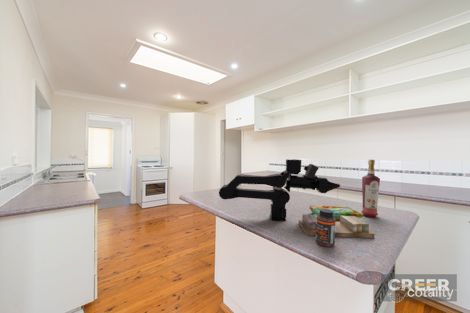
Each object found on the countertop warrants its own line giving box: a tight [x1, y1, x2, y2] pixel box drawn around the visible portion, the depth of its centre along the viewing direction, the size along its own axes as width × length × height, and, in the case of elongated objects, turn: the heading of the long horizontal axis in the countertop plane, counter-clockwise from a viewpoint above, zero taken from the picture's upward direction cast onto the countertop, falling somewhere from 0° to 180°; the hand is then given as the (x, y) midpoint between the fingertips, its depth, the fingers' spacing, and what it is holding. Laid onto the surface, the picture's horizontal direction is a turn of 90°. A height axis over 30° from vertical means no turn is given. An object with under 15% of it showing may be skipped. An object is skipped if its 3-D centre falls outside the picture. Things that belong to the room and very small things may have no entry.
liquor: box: [361, 159, 381, 218], centre depth 98 cm, size 7×7×28 cm
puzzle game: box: [309, 204, 364, 221], centre depth 95 cm, size 12×5×20 cm
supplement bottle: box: [315, 209, 337, 248], centre depth 67 cm, size 6×6×11 cm
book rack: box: [298, 214, 375, 239], centre depth 79 cm, size 24×12×4 cm, turn 87°
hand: (335, 184), depth 89 cm, fingers open, 9 cm apart
